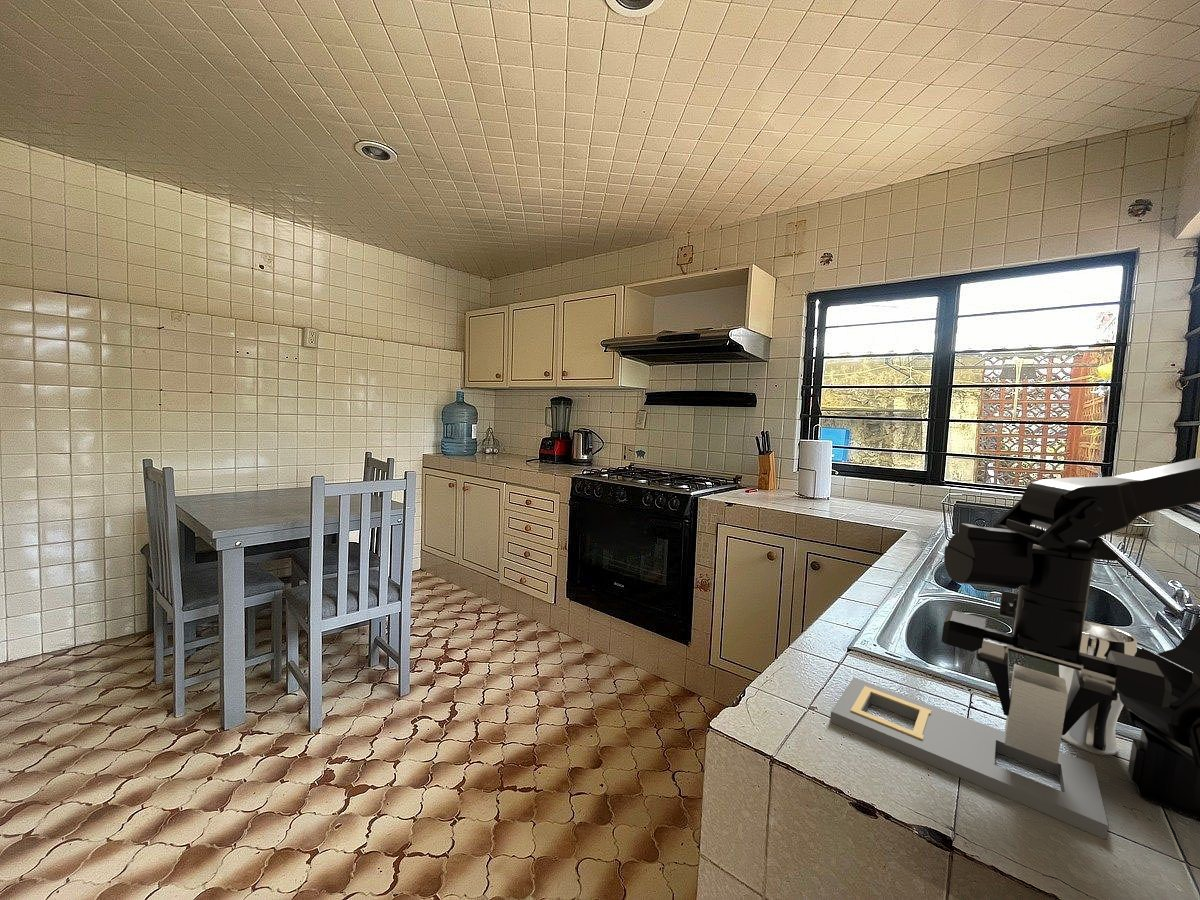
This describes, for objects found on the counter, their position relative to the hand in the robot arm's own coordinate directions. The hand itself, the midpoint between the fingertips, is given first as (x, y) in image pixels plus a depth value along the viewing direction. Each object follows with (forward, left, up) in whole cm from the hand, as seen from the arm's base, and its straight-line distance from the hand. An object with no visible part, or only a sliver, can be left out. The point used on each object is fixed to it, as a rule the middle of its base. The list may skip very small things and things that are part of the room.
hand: (1033, 723), depth 58 cm
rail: (+7, 0, -6) cm, 9 cm away
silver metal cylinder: (-6, -15, -7) cm, 18 cm away
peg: (0, 0, -3) cm, 3 cm away
